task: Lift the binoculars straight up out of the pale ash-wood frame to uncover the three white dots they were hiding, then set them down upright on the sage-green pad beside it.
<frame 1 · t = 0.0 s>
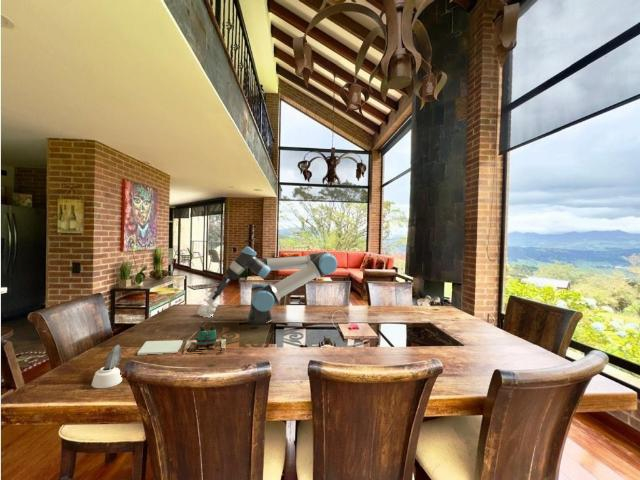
hand: (209, 301, 182), 15 cm above the table, tool tilted 35°, fingers open, 13 cm apart
layout frame: (205, 346, 155), on the table
rabbit: (207, 316, 207), on the table
binoculars: (205, 347, 155), on the table, touching layout frame
pad: (161, 348, 150), on the table
inkwell: (110, 377, 120), on the table
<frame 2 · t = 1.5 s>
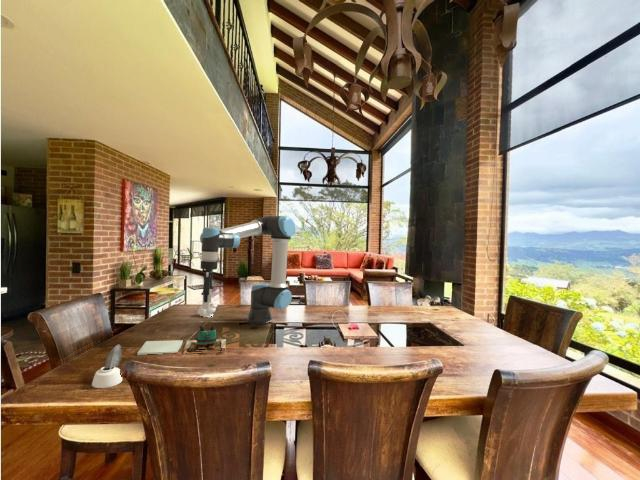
hand: (206, 305, 155), 19 cm above the table, tool pointing down, fingers open, 13 cm apart
nothing on the table moved.
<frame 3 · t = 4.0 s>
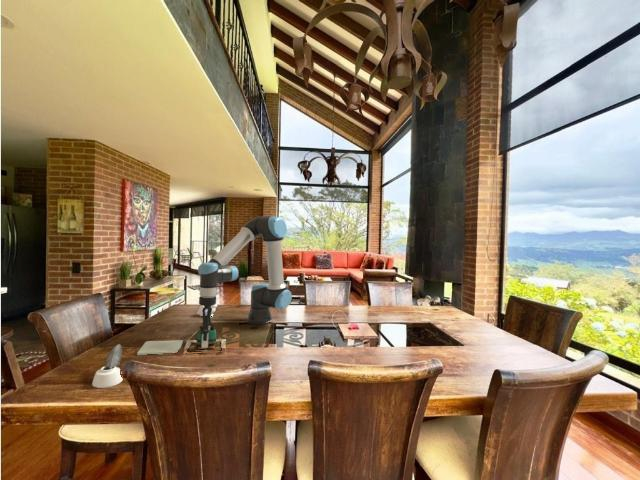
hand: (205, 343, 155), 2 cm above the table, tool pointing down, fingers closed on binoculars, 10 cm apart
binoculars: (205, 347, 155), on the table, touching gripper, layout frame
everything else where it was.
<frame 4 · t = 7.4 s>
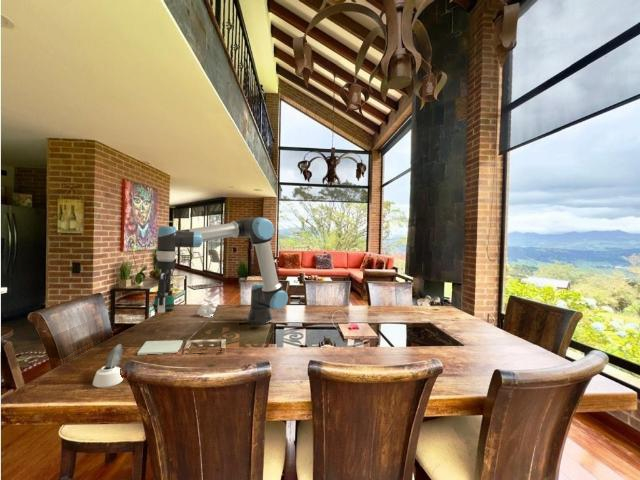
hand: (163, 309, 150), 18 cm above the table, tool pointing down, fingers closed on binoculars, 10 cm apart
binoculars: (163, 313, 150), point 16 cm above the table, touching gripper
everything else where it was.
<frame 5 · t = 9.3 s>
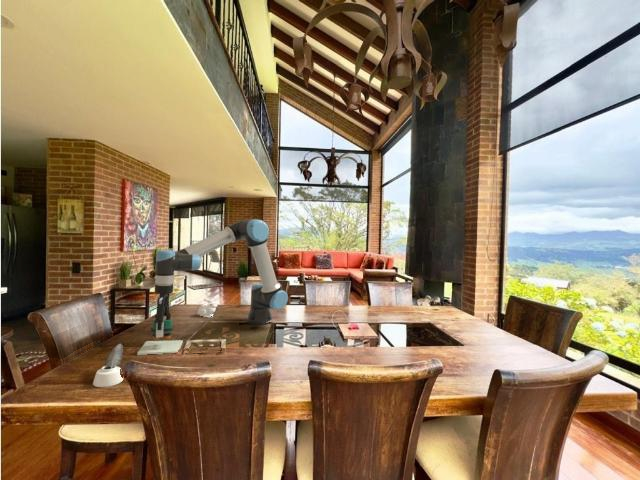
hand: (161, 333, 150), 7 cm above the table, tool pointing down, fingers closed on binoculars, 10 cm apart
binoculars: (161, 337, 150), point 5 cm above the table, touching gripper
everything else where it was.
when the fingers open (4 cm above the table, at t = 10.9 s): binoculars drops 2 cm, resting on pad.
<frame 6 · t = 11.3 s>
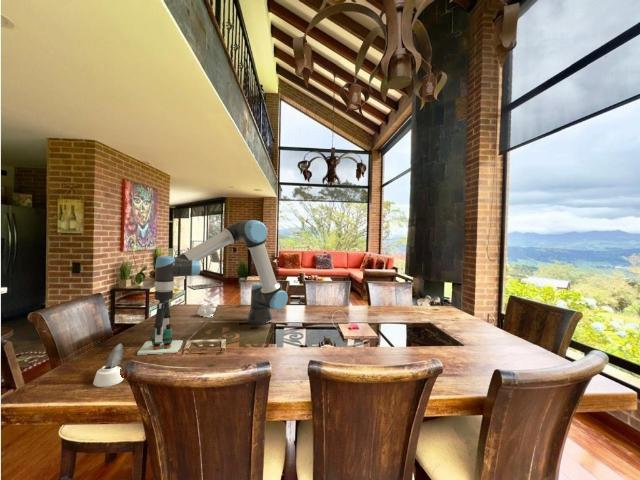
hand: (161, 336, 150), 5 cm above the table, tool pointing down, fingers open, 13 cm apart
binoculars: (161, 346, 150), point 1 cm above the table, touching pad
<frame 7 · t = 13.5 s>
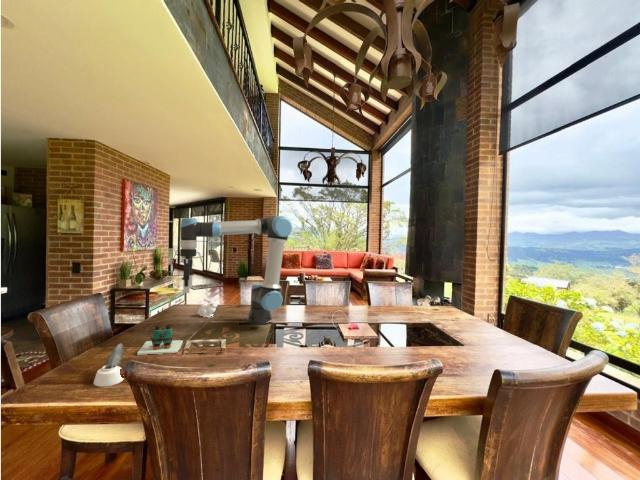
hand: (187, 290, 168), 23 cm above the table, tool pointing down, fingers open, 13 cm apart
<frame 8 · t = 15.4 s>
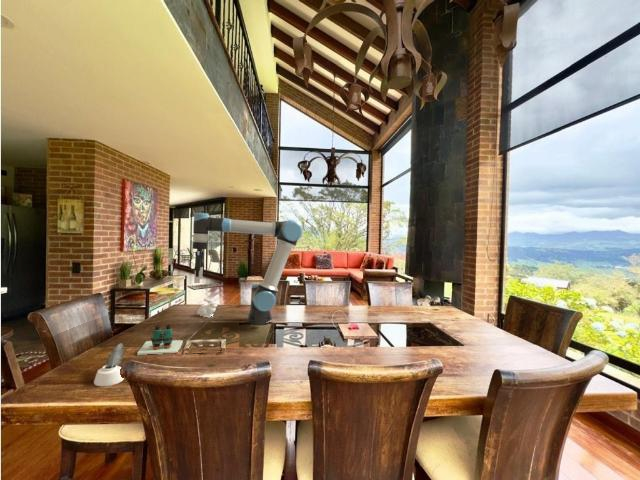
hand: (198, 280, 179), 27 cm above the table, tool pointing down, fingers open, 13 cm apart
at the end: binoculars inside the target area on the pad (0.1 cm from its centre), point 0.8 cm above the pad's base; binoculars tilted 0°; the gripper is holding nothing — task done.
